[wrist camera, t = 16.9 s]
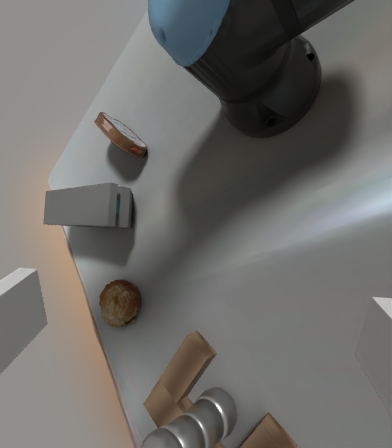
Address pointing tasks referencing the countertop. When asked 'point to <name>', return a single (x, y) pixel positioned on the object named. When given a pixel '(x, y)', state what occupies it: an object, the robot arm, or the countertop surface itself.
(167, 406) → the notched board
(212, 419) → the plastic bottle
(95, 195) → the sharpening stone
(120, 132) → the tin
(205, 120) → the countertop surface
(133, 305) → the bread roll
